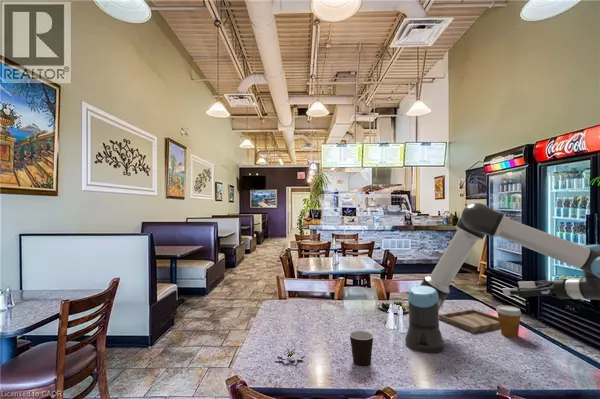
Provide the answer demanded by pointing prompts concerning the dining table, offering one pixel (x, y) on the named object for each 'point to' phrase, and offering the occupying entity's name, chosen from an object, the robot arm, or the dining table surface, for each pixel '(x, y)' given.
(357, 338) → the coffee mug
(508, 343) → the dining table surface
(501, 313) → the disposable coffee cup
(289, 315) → the dining table surface
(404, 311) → the salad plate
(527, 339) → the dining table surface
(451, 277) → the robot arm
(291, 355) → the lily flower
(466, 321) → the serving tray
